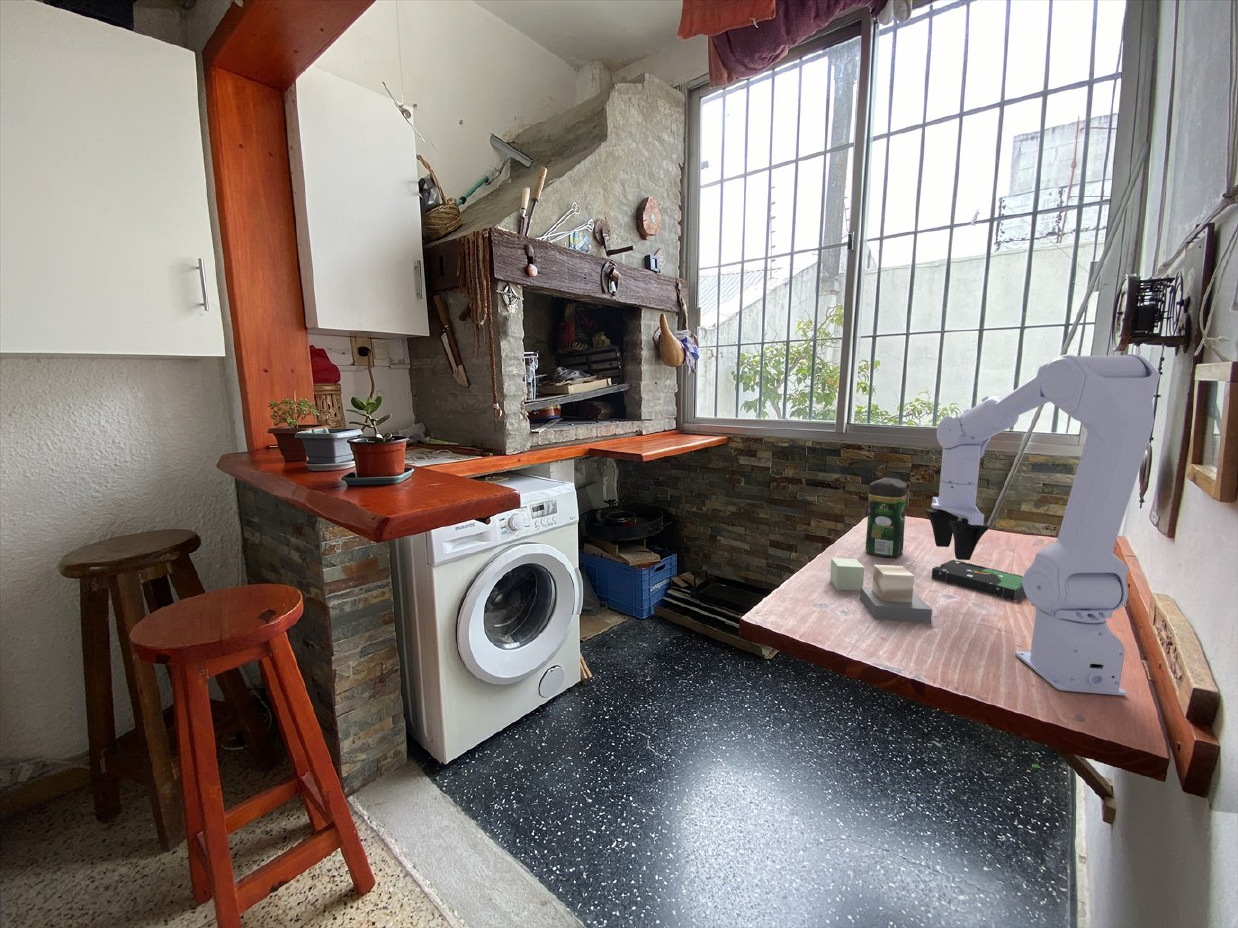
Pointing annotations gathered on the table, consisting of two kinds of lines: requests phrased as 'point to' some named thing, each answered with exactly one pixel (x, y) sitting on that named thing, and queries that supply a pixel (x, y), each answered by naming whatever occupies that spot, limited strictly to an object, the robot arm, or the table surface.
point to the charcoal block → (896, 608)
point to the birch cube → (893, 583)
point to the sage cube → (846, 574)
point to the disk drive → (981, 579)
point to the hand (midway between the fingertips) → (952, 552)
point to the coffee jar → (886, 517)
